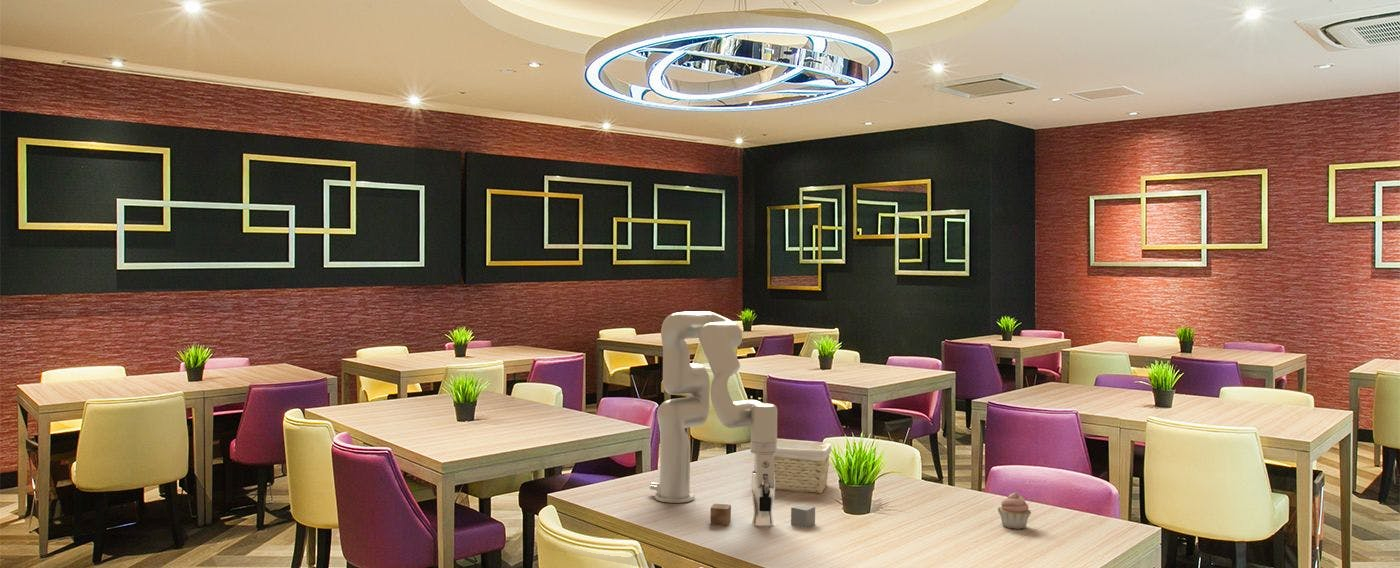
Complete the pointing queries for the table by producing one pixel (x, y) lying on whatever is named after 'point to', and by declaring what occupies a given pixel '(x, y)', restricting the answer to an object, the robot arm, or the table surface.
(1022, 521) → the cupcake
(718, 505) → the walnut block
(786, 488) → the storage basket
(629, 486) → the table surface
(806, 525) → the slate-grey block
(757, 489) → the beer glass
